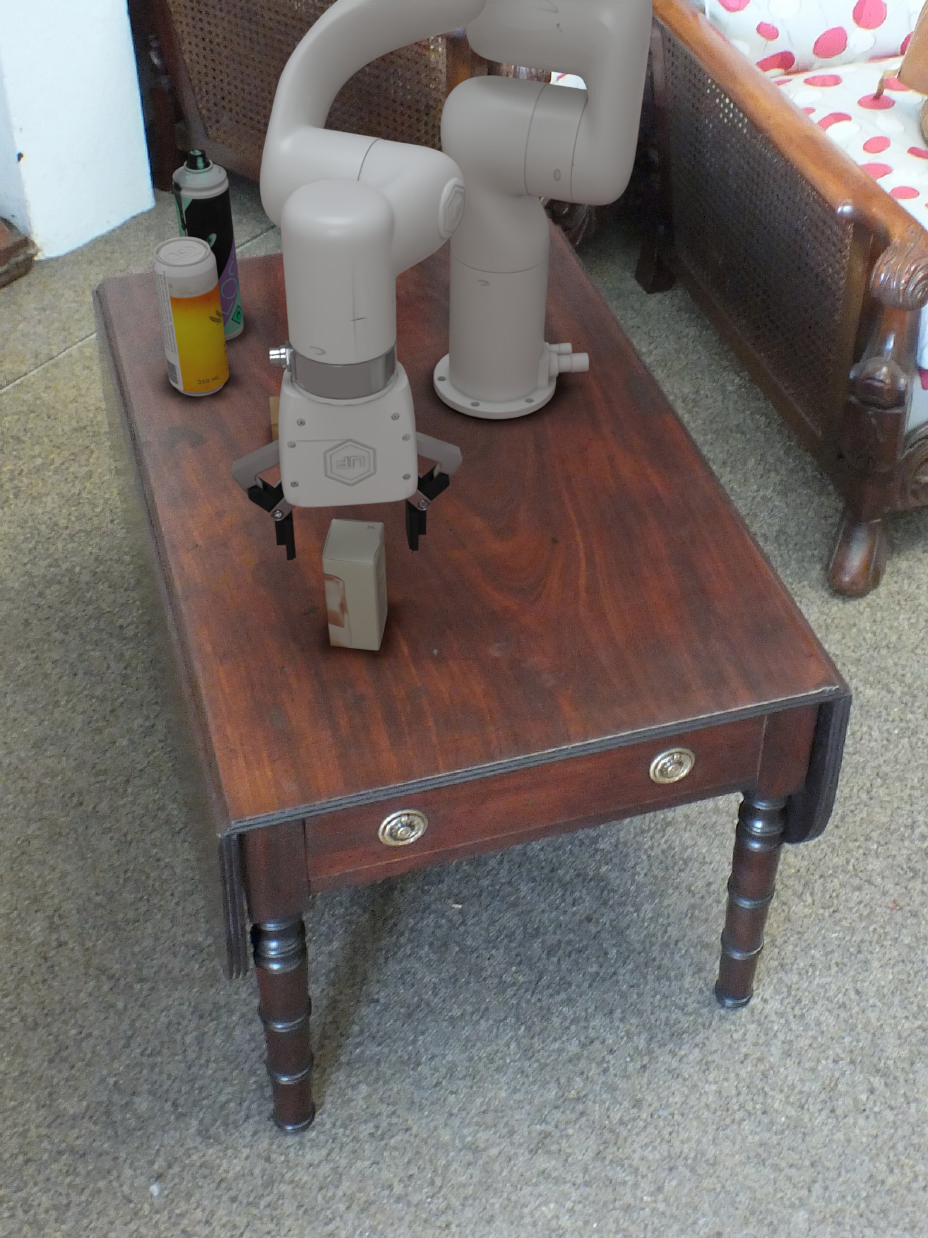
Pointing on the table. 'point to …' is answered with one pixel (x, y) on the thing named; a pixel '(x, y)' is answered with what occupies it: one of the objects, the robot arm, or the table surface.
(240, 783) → the table surface
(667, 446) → the table surface
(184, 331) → the beer can
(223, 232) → the spray can
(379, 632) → the white box
